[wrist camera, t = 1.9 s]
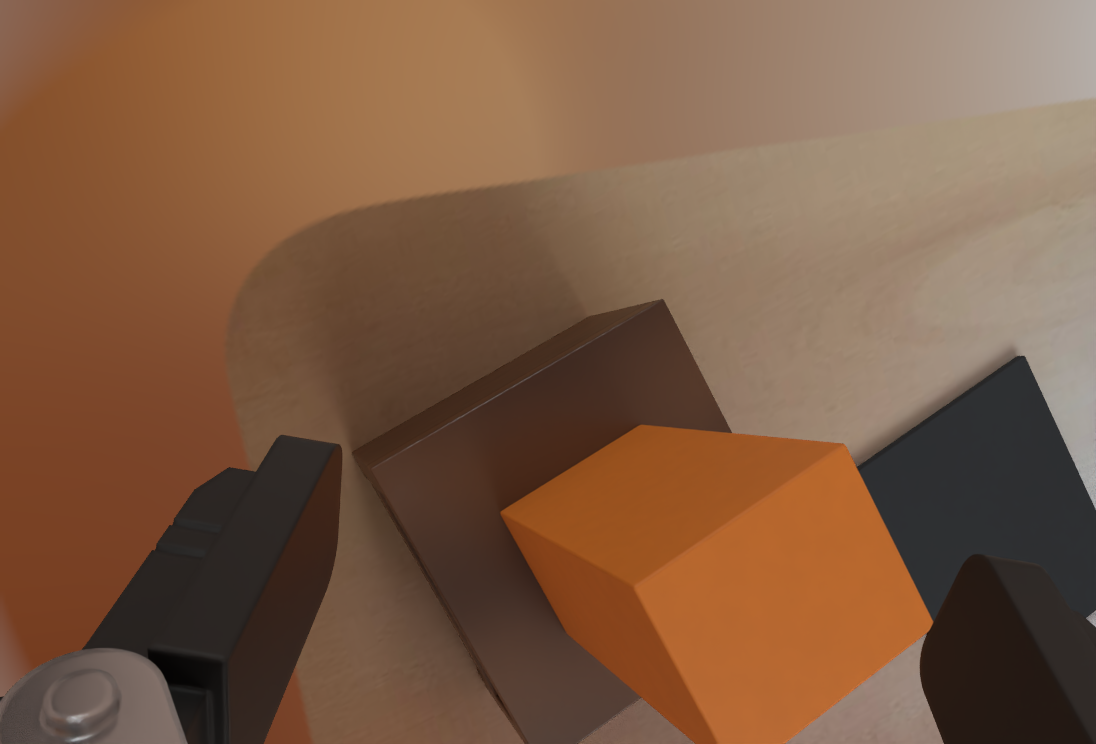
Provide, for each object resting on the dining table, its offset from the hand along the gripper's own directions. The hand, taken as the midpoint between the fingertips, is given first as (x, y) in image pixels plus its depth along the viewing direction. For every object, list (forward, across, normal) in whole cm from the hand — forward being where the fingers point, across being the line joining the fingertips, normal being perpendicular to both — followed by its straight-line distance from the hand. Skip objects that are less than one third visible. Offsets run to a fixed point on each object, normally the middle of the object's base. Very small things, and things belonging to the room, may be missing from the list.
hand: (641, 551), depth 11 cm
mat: (+29, -23, +18) cm, 41 cm away
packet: (+16, -2, +12) cm, 20 cm away
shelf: (+22, 0, +16) cm, 28 cm away
